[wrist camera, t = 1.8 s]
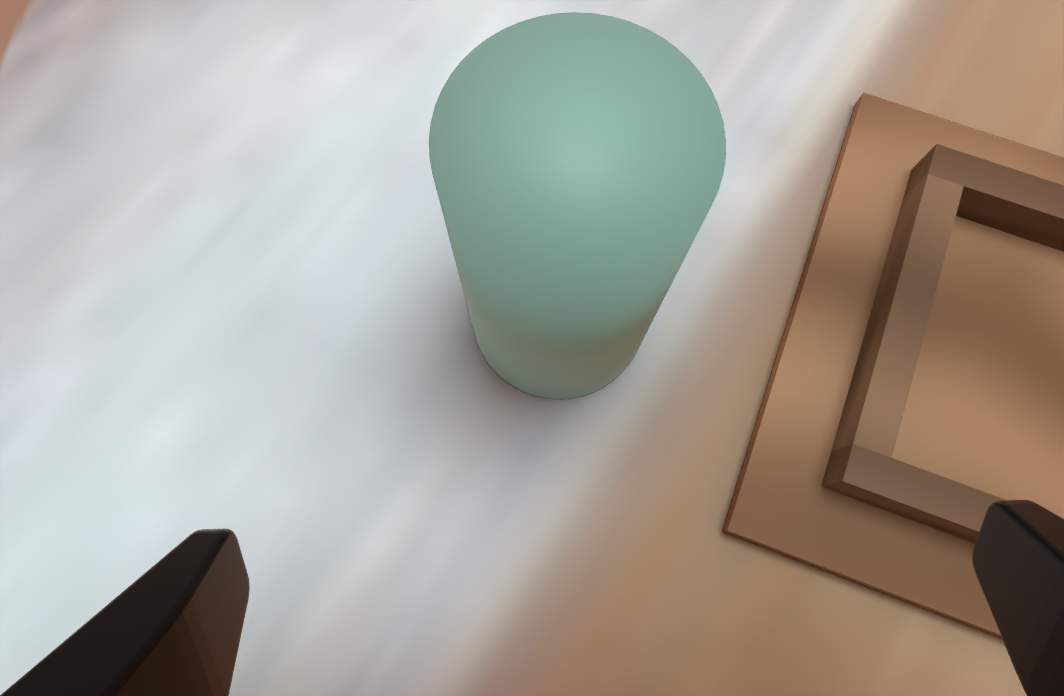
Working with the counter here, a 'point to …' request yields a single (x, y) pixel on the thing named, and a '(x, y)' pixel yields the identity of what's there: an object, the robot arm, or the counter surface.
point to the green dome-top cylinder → (572, 191)
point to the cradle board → (916, 362)
